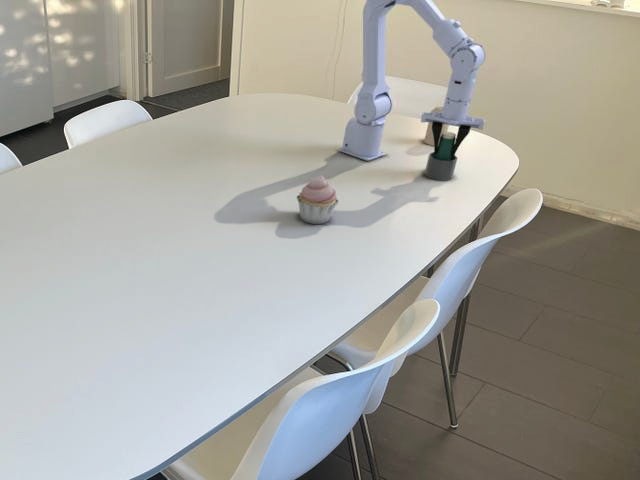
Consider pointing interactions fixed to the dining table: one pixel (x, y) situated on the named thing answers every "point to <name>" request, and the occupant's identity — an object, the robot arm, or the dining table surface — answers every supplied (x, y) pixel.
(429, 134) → the candle
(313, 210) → the cupcake
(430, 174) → the cup
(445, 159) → the cylinder
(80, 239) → the dining table surface
